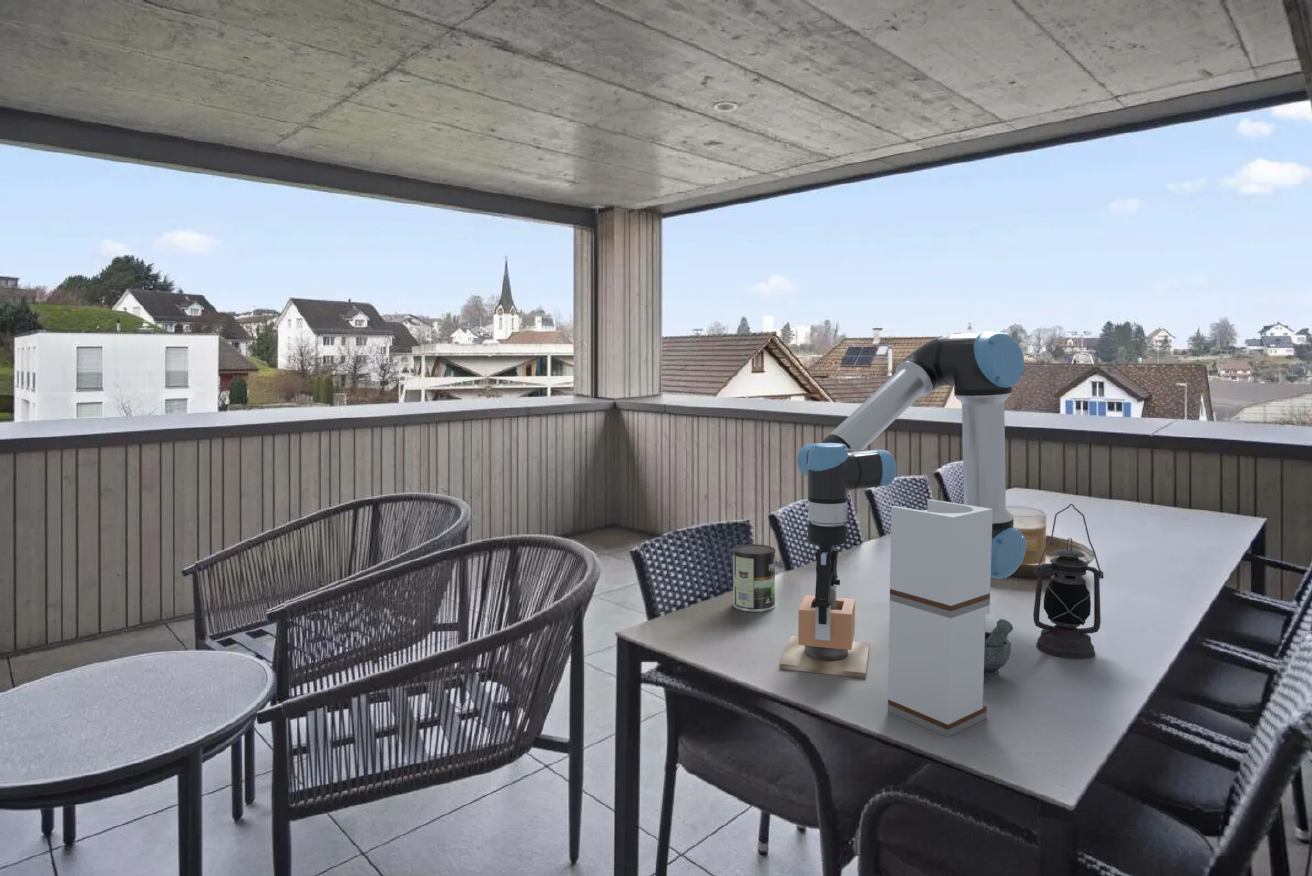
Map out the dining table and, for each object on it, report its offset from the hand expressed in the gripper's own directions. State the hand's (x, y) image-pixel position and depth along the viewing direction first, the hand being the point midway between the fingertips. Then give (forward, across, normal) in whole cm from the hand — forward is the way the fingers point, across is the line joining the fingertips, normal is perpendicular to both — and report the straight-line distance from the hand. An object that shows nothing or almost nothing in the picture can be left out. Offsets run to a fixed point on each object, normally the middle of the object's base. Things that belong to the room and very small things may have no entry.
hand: (826, 627), depth 152 cm
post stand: (+6, 0, 0) cm, 6 cm away
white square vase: (+6, +20, +20) cm, 29 cm away
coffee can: (+6, -29, -20) cm, 36 cm away
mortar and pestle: (+6, +1, +29) cm, 30 cm away
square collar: (+2, 0, 0) cm, 2 cm away
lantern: (+6, -18, +46) cm, 50 cm away
